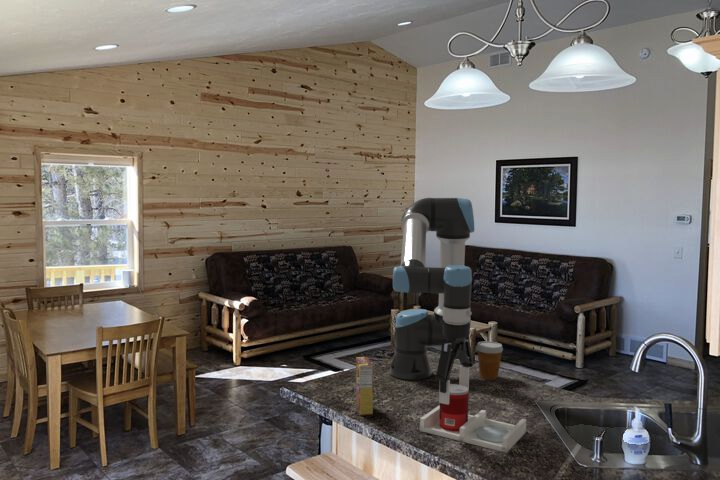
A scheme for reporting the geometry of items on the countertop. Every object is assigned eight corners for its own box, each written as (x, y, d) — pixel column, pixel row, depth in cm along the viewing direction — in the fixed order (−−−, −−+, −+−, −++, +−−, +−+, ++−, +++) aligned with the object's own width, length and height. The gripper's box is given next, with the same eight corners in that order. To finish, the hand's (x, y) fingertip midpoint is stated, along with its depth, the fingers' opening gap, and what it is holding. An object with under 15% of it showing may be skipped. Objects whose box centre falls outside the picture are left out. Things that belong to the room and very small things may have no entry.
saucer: (483, 427, 171) (483, 422, 171) (514, 434, 166) (515, 430, 166) (471, 437, 163) (471, 433, 163) (503, 446, 158) (503, 441, 158)
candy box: (354, 404, 190) (355, 356, 189) (368, 404, 190) (369, 356, 189) (358, 415, 181) (359, 365, 180) (373, 414, 182) (373, 364, 180)
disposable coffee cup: (470, 377, 218) (471, 345, 217) (481, 371, 226) (482, 339, 225) (496, 382, 213) (497, 349, 212) (506, 376, 221) (507, 343, 220)
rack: (444, 416, 181) (444, 401, 181) (525, 435, 168) (526, 419, 168) (419, 434, 168) (420, 418, 167) (506, 456, 155) (507, 439, 154)
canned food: (472, 430, 168) (473, 391, 167) (446, 433, 166) (447, 394, 165) (460, 420, 176) (461, 382, 175) (434, 422, 173) (435, 385, 172)
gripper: (450, 333, 156) (448, 413, 158) (485, 315, 177) (483, 385, 179) (424, 329, 160) (422, 406, 162) (461, 311, 181) (459, 380, 183)
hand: (454, 395), depth 171 cm, fingers open, 13 cm apart
